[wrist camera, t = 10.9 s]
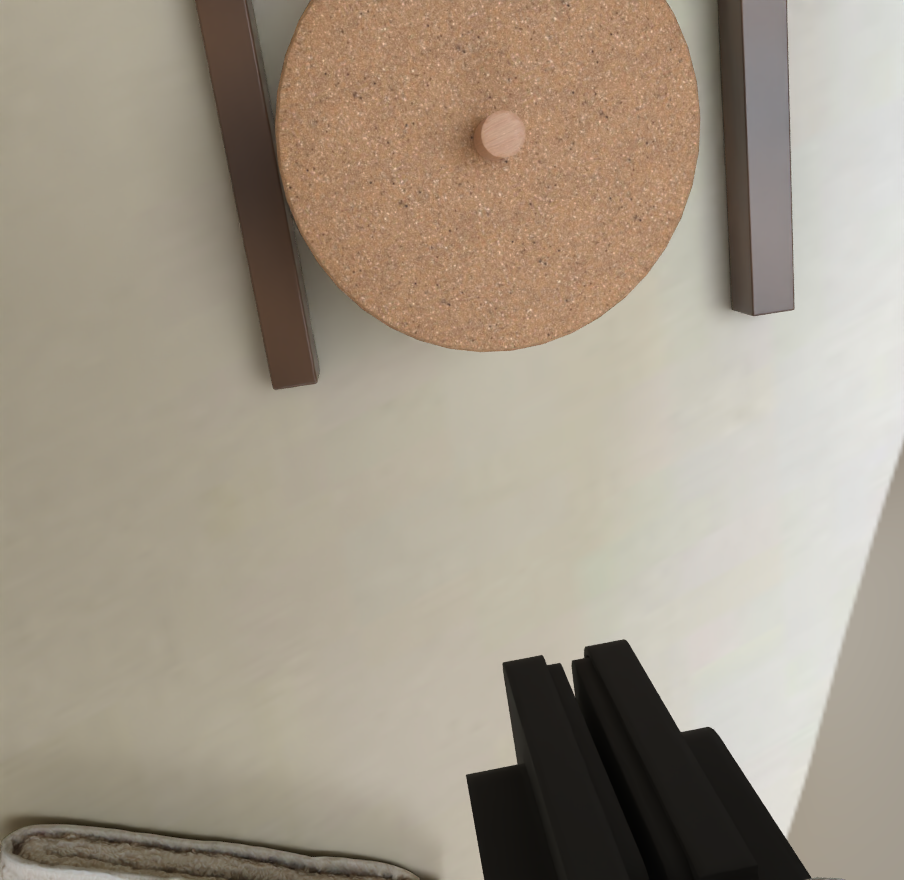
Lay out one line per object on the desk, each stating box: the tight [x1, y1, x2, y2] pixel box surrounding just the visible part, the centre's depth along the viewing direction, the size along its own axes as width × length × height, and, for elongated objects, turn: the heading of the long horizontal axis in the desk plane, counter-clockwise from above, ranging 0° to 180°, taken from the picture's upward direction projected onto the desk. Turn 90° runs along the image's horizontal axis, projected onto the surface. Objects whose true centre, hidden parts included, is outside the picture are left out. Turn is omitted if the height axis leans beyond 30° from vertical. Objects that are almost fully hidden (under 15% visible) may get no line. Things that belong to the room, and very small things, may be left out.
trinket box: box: [275, 0, 700, 352], centre depth 24 cm, size 11×11×9 cm
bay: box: [195, 0, 794, 390], centre depth 27 cm, size 15×18×2 cm
